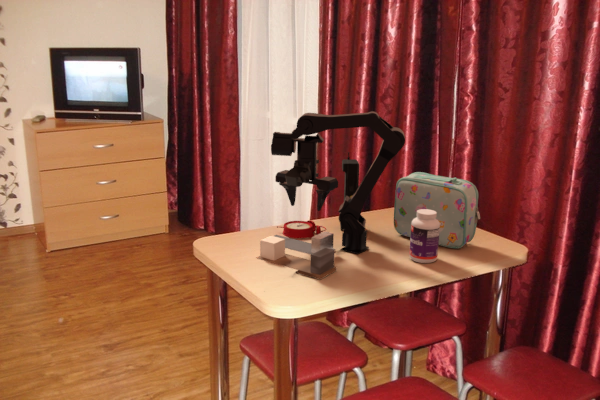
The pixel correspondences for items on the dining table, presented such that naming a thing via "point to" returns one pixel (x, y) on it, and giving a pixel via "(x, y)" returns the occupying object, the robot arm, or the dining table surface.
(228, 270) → the dining table surface
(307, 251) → the grey piece
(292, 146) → the robot arm
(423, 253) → the pill bottle
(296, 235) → the alarm clock
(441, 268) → the dining table surface
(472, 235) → the lunch box
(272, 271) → the dining table surface
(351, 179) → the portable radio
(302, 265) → the walnut strip
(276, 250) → the cream block
